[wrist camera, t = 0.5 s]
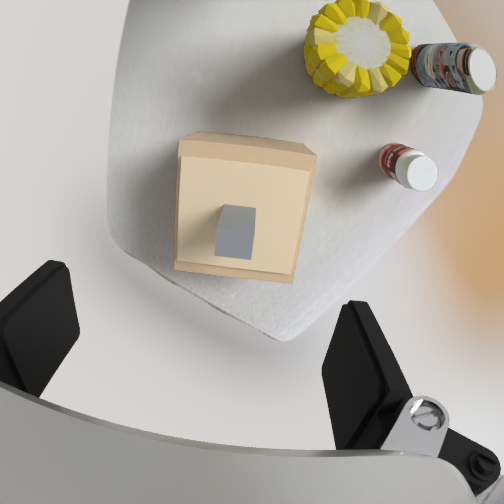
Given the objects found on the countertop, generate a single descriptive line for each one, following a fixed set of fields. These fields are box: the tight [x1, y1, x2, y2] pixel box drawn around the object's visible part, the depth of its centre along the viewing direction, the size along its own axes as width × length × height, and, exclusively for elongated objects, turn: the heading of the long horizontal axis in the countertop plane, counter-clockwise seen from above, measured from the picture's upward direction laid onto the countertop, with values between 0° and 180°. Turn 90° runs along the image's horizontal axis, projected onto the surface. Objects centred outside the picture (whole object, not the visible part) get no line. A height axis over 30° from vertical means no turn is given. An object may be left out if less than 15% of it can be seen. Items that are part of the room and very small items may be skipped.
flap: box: [177, 156, 310, 274], centre depth 28 cm, size 11×12×6 cm
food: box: [303, 0, 411, 98], centre depth 26 cm, size 15×12×10 cm
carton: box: [174, 132, 317, 284], centre depth 36 cm, size 14×13×10 cm
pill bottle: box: [379, 143, 437, 191], centre depth 34 cm, size 5×5×8 cm
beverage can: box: [410, 43, 497, 95], centre depth 26 cm, size 6×7×12 cm
